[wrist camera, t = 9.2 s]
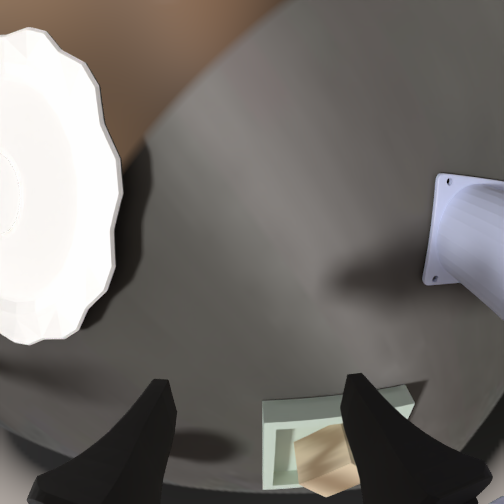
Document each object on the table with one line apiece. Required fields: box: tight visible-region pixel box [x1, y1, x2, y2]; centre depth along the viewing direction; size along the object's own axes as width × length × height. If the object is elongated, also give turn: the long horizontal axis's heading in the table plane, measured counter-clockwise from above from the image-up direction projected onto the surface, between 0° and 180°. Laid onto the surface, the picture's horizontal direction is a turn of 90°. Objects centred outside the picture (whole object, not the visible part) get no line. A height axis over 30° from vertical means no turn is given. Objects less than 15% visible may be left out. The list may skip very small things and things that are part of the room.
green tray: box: [262, 385, 415, 490], centre depth 25 cm, size 13×13×2 cm
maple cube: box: [294, 423, 360, 497], centre depth 24 cm, size 5×5×5 cm
